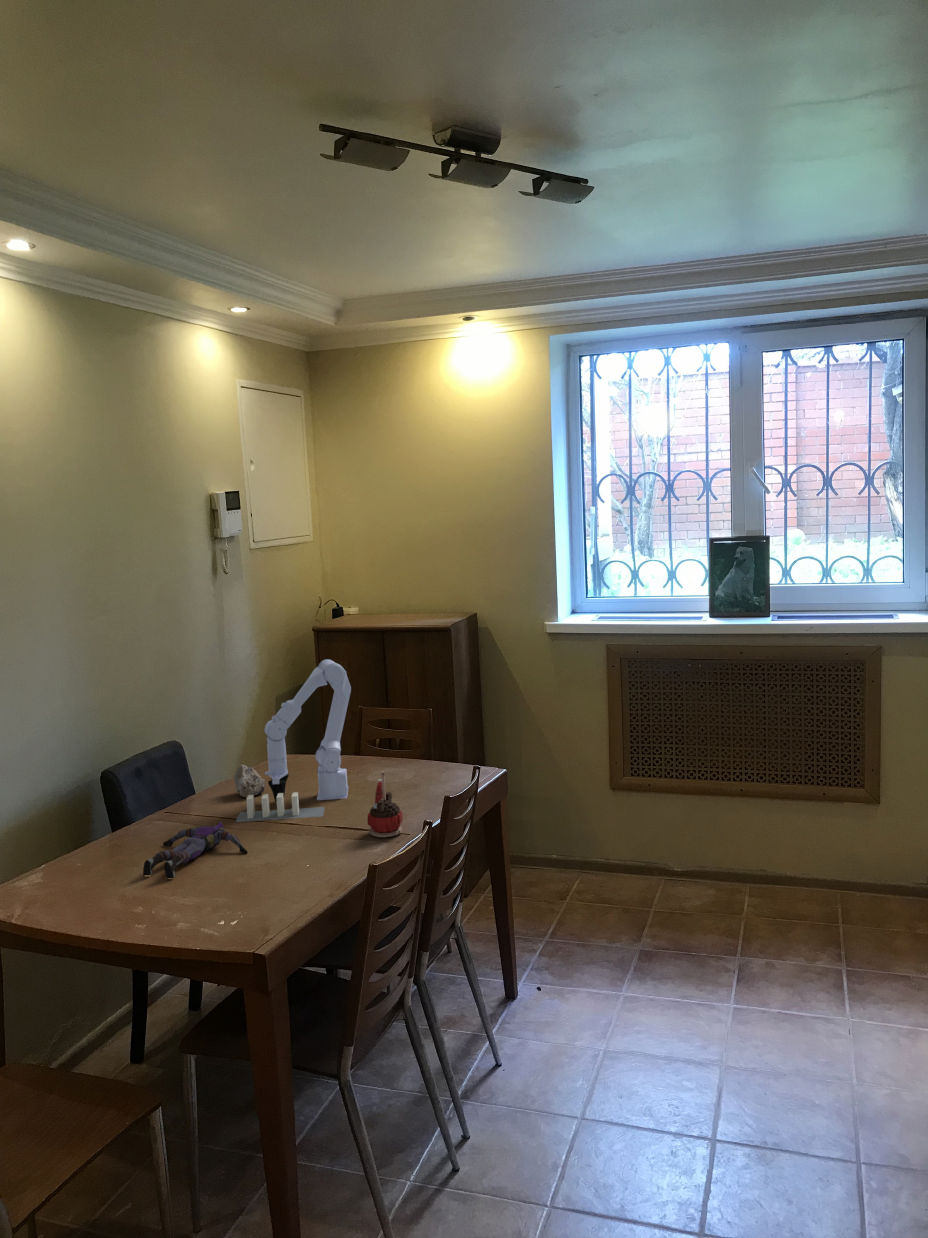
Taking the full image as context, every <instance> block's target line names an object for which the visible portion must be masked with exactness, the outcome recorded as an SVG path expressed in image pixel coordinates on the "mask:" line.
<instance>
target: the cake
mask: <svg viewBox="0 0 928 1238" xmlns="http://www.w3.org/2000/svg"><path fill="white" fill-rule="evenodd" d="M385 773H386V772H385V771H382V772H381V779H380V778H379V779H377V785H376V789H375V797H374V803H373V806H372V807H371V808H370V809H369V812H368V814H367V825H368V826H369V827H370V828H369V829H368V833H369V835H371V836H373V837H377V838H389V837H394V836H397V835H398V834H401V833H402V832H403V831H404V827H402V825H401V824H402V823H403V812H402V810H401V809H400V808H401V807H400V806H399V805H397V803H396V802H392V799H393V794H392V791H391V792H390V791H389V792H388V791H387V792H386V777H385V775H386V774H385Z"/></svg>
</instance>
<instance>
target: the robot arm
mask: <svg viewBox="0 0 928 1238" xmlns="http://www.w3.org/2000/svg"><path fill="white" fill-rule="evenodd" d="M328 684H329V685H330V686H331V688H332V689H333V691H334V692H333V696H332V700H331V706H330V710H329V714H328V719H327V724H326V728H325V733H324V737H323V738H322V740H321V742H320V746H319V747H318V749H317V750H316V752H315V755H314V756H315V760H316V762H317V763H318V767H317V780H318V781H317V783H318V793H317V796H316V801H325V800H327V801H328V800H343V799H348V793H349V785H348V774H347V768H342V767H341V764H342V757H341V751H342V747H341V740H342V739H341V738H342V733H343V729H344V726H345V725H344V724H345V720H346V716H347V709H348V705H349V701H350V697H351V693H352V686H351V683H350V681H349V678H348V675H347V671H346V669H344V667H343V666H342V665H341V664H339V663H337V662H335V661H334V660H332V659H323V660H322V661H320V662H319V664H318V666H316V667H315V668H314V669H313V671H312V672H311V674H310V675H309V676H308V678H307V679H306V680H305V682H304V683H303V685H302V686H301V688H300V689H299V691H297V693H296V694H295V696H294V697H293V699H289V700H286V701H285V702H282V703H281V705H280V707H281V708H280V709H279V710H278V711H277V713H276V714H275V715H272V716H271V720H269V721H267V723H266V724H265V726H264V728H263V730H264V733H265V735H266V742H267V744H266V747H267V748H266V749H267V762H268V770H267V771H265V772H264V775H265V776H269V777H270V780H268V781H267V782H268V783H267V784H268V786H269V787H270V789H271V792H272V796H273V799H274V802H275V803H276V804H277V795H278V793H283V797H285V793H286V785H287V782H288V778H289V770H288V763H287V762H288V761H287V750H286V749H287V745H286V736H287V732H288V729H289V728H290V727H291V725H292V724H293V723H294V721H296V719H297V718H298V717H299V715H300V714H301V713H302V706H303V704H305V702H306V701H308V699H309V698H310V696H311V695H312V694H313V693H314V692H315V691H316V689H317V688H319V687H323V686H327V685H328Z"/></svg>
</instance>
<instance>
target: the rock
mask: <svg viewBox="0 0 928 1238" xmlns="http://www.w3.org/2000/svg"><path fill="white" fill-rule="evenodd" d="M265 782H266V781H265V779H264V778H262V776H261V775H260V774H259V773H258V772H257V770H255V769H254V768H253V767H252V766H246V765H245V764H240V765H239V767H237V770H236V771H235V774H234V783H235V788H236V789H235V790H236V792H237V793H239V796H241V797H243V798H246V799H247V797H248V795H254V797H255V796H256V795H263V793H264V791H265V788H266V783H265Z"/></svg>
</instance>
